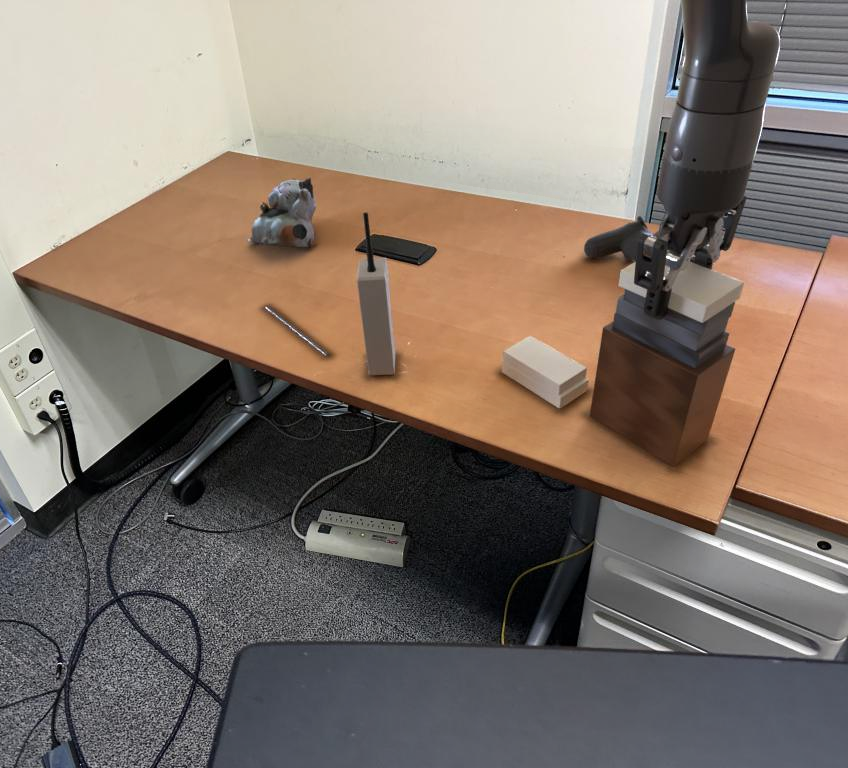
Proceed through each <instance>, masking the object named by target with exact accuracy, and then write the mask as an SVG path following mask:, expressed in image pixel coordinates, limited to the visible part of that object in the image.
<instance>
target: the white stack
mask: <svg viewBox="0 0 848 768" xmlns="http://www.w3.org/2000/svg"><path fill="white" fill-rule="evenodd" d="M587 371H588V367H586V366H585V365H584V364H581V363H580V362H578V361H576V360H575V359H572V358H571V357H570V356H567V355H565V354H563V353H562V352H560V351H558V350H557V349H555V348H553V347H551V346H550V345H548V344H546V343H544V342H542V341H541V340H539V339H537V338H536V337H533V336H531V335H528V336H527V337H525V338H523V339H521V340H520V341H518V342H516V343H514V344H513V345H511V346H510V347H508V348H506V349H504V350H503V352H502V361H501V373H502V374H504V375H505V376H507V377H509V378H510V379H511V380H513V381H515V382H516V383H518V384H519V385H521V386H523V387H524V388H526V389H527V390H529V391H531V392H532V393H534V394H535V395H537V396H538V397H540V398H542V399H543V400H545V402H548V403H549V404H551V405H552V406H553V407H556V408H558V409H562V408H563V407H565V406H566V405H568V404H570V403H571V402H572V401H574V400H575V399H577V398H579V397H580V396H582V395H583V394H584V393H586V392H588V388H589V382H590V379H589V378H587V373H588V372H587Z"/></svg>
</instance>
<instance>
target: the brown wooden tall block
mask: <svg viewBox="0 0 848 768" xmlns="http://www.w3.org/2000/svg"><path fill="white" fill-rule="evenodd" d="M644 304H645V297H643V296H641V295H638V294H636V293H634V292H632V291H629V290H627V289H625V288H624V292H623V294H622V295H620V296H618V297H617V302H616V309H615V313H614V315H613V321H611V322H610V323H608V324H607V325H605V326H602V331H601V337H600V338H601V339H600V343H599V344H600V345H599V352H598V358H597V365H596V371H595V378H594V385H593V391H592V399H591V405H590V411H589V416H590V417H591V418H593V419H594V420H596V421H597V422H599V423H601V424H602V425H604V426H605V427H607V428H609V429H611V430H612V431H614V432H616V433H617V434H619V435H621V436H622V437H624V438H625V439H627V440H629V441H630V442H632V443H633V444H635V445H637V447H640V448H641V449H643V450H645V451H646V452H648V453H649V454H651V455H653V456H655V457H656V458H657V459H659V460H661V461H663V462H664V463H665V464H668V465H669V466H671V467H675V466H677V464H679V463H680V462H682V461H683V460H684V459H685V458H686V457H688V456H689V455H691V454H692V453H693V452H694V451H695V450H697V449H698V448H700V447H701V446H702V445H703V444H705V443H706V442H707V441H708V440H709V437H710V433H711V430H712V426H713V423H714V420H715V417H716V414H717V410H718V408H719V404H720V401H721V397H722V394H723V392H724V387H725V384H726V382H727V378H728V375H729V371H730V369H731V365H732V362H733V359H734V356H735V352H736V348H735V347H733V346H731V345H728V341H729V337H730V332H728V331H726V329H727V326H728V322H729V319H730V318H731V317H732V315H733V311H734V307H735V305H736V301H735V302H733V303H732V304H730V305H729V306H727V307H726V308H724V309H723V310H721V311H720V312H718V313H717V314H715V315H714V316H712V317H711V318H709V319H708V320H706V321H705V322H703V323H701V322H699V321H697V320H695V319H692V318H690V317H688V316H686V315H683V314H681V313H679V312H677V311H674V310H672V309H670V308H668V309H667V314H666V316H665V317H664V318H662V319H661V320H657V319H655V318H653V317H650V316H648V315H646V314H645V313H644Z"/></svg>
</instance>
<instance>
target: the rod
mask: <svg viewBox="0 0 848 768" xmlns="http://www.w3.org/2000/svg"><path fill="white" fill-rule="evenodd" d="M265 310H266V311H268V312H269V313H270V314H271V315H273V317H274V318H277V320H278V321H280V322H281V323H283V324H284V325H285V326H287V328H289V329H290V330H291V331H293V332H294V334H296V335H298V336H299V337H300V338H302V340H303V341H305V342H306V343H308V344H309V345H310V346H311V347H313V348H314V349H315V350H316V351H317V352H318V353H320V354H321V355H323V356H324V357H325V358H327V357H329V356H330V353H329V352H327V351H326V350H325V349H324V348H322V347H321V346H320V345H319V344H317V343H316V342H315V341H314V340H312V339H311V338H310V337H309V336H307V335H306V334H305V333H303V332H302V331H301V330H299V328H297V327H295V326H294V325H293V324H292V323H291V322H289V321H288V320H287V319H286V318H284V317H283V316H282V315H281V314H279V313H278V312H277V311H276V310H275V309H273V308H272V307H271V306H269V305H266V306H265Z"/></svg>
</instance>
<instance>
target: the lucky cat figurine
mask: <svg viewBox="0 0 848 768" xmlns="http://www.w3.org/2000/svg"><path fill="white" fill-rule="evenodd" d="M267 201H268V203H267V202H264V201H262V202H261V203H260V206H259V209H260V210H261V214H259V217H258V218H256V219H254V222H253V224H252V227H251V237H249V238H248V239H247V240H246V241H247V242H248V243H253V244H260V245H270V246H289V247H293V248H294V247H295V248H311V247H312V246H313V244H314V243H315V230H314V226H313V224H312V221H313V216H314V213H316V212H315V211H316V209H317V203H316V196H315V195H314V185H313V184H312V178H311V177H308V178H305V180H299V178H298V179H296V178H292V179H287V180H285V181H281V182H280V183H279V184H278V185H277V186H276V187H274V188H273V189H272V190H271V192H270V193H269V195H268V198H267Z"/></svg>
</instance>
